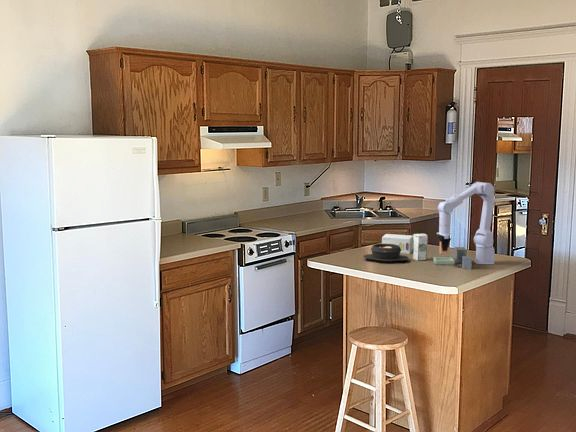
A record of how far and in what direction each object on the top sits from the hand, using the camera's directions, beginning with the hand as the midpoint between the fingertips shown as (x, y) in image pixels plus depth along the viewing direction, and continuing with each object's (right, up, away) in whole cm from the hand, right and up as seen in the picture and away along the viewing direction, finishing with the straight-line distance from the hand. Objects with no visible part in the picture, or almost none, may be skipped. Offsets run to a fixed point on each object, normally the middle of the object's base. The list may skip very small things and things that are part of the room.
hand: (444, 250), depth 331 cm
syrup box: (-9, -7, +19) cm, 22 cm away
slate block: (+11, -9, -3) cm, 15 cm away
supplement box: (-17, -3, +45) cm, 49 cm away
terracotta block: (0, -2, 0) cm, 2 cm away
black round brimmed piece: (-28, -7, +17) cm, 34 cm away
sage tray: (+2, -8, +10) cm, 13 cm away
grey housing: (+11, -7, +11) cm, 18 cm away
